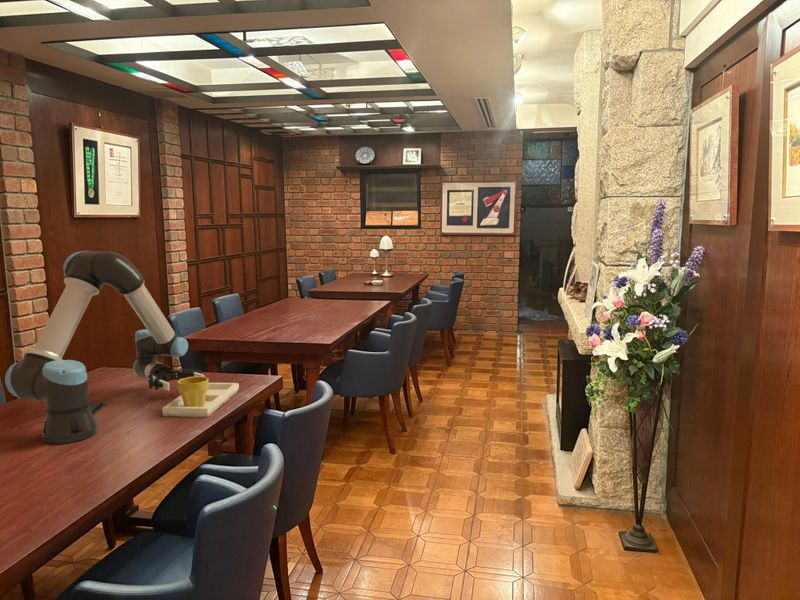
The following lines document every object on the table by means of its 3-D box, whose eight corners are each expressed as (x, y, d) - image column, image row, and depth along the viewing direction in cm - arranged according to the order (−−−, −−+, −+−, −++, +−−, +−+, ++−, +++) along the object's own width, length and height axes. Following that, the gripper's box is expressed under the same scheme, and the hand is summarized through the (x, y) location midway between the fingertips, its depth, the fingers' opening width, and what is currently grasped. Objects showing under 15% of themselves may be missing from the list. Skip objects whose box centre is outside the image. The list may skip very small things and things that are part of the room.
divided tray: (207, 416, 196) (207, 408, 196) (162, 416, 197) (162, 407, 197) (238, 390, 227) (238, 383, 227) (199, 389, 228) (199, 382, 228)
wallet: (84, 418, 192) (36, 420, 191) (85, 424, 192) (37, 426, 191) (108, 400, 212) (65, 401, 210) (109, 405, 212) (66, 406, 211)
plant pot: (188, 401, 211) (186, 375, 209) (214, 402, 209) (213, 376, 208) (173, 410, 200) (171, 383, 199) (201, 411, 199) (199, 384, 198)
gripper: (189, 375, 231) (217, 385, 217) (127, 389, 213) (153, 400, 199) (188, 357, 230) (216, 366, 216) (125, 369, 212) (152, 380, 198)
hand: (186, 382), depth 208 cm, fingers open, 13 cm apart
